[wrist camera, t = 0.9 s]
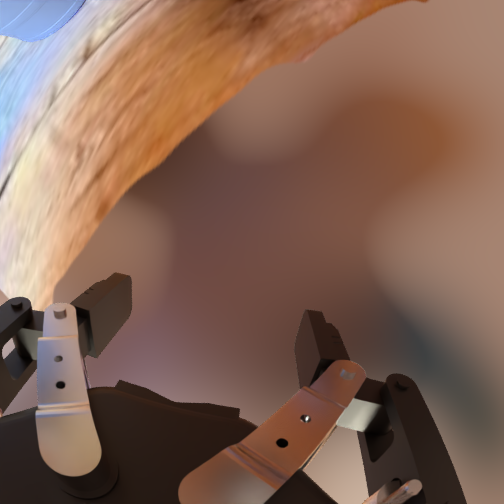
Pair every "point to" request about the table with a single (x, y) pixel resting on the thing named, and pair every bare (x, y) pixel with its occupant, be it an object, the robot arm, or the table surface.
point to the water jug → (35, 17)
